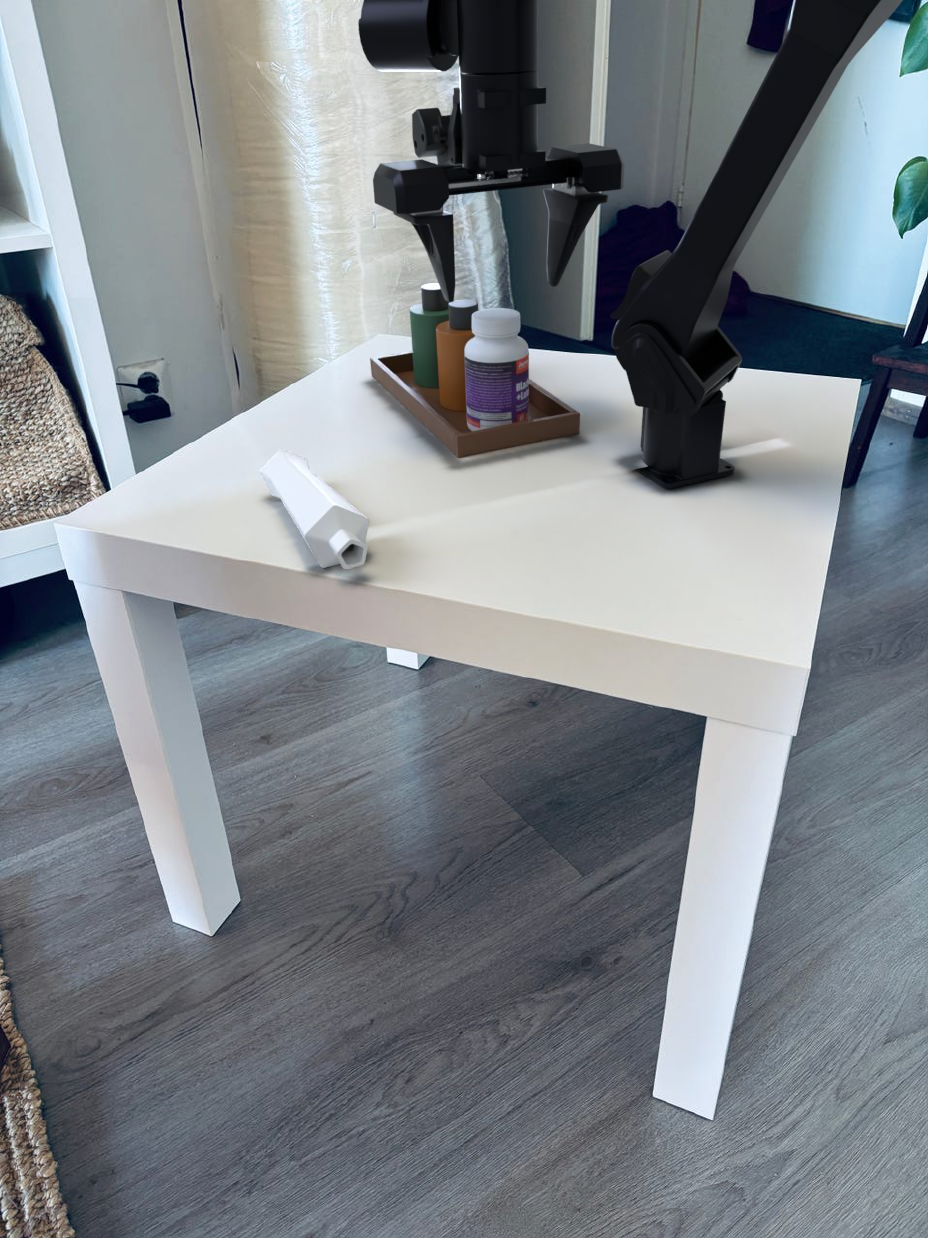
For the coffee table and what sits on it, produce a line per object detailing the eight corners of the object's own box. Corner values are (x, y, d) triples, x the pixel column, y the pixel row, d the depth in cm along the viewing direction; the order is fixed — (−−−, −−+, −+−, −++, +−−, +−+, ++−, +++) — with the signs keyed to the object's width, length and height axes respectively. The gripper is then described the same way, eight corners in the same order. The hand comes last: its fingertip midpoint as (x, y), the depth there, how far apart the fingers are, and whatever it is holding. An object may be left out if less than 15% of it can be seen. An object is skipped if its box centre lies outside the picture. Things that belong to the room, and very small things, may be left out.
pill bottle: (529, 437, 81) (529, 322, 76) (466, 439, 81) (461, 324, 76) (528, 414, 86) (528, 303, 80) (468, 416, 86) (463, 305, 81)
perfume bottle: (323, 481, 76) (396, 562, 64) (275, 509, 75) (340, 596, 64) (299, 433, 73) (371, 508, 62) (248, 461, 72) (311, 543, 61)
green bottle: (472, 383, 93) (469, 288, 89) (424, 391, 92) (418, 295, 87) (453, 368, 97) (449, 276, 92) (407, 376, 96) (400, 283, 91)
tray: (579, 442, 82) (580, 412, 81) (458, 466, 79) (457, 436, 77) (474, 365, 100) (473, 340, 99) (372, 383, 97) (369, 357, 96)
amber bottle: (502, 405, 88) (500, 305, 83) (452, 415, 86) (447, 314, 82) (481, 389, 92) (478, 292, 87) (432, 398, 90) (426, 300, 85)
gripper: (561, 60, 78) (558, 259, 87) (342, 74, 73) (361, 286, 81) (633, 65, 70) (621, 286, 78) (390, 82, 64) (406, 318, 72)
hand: (501, 293), depth 78 cm, fingers open, 9 cm apart
